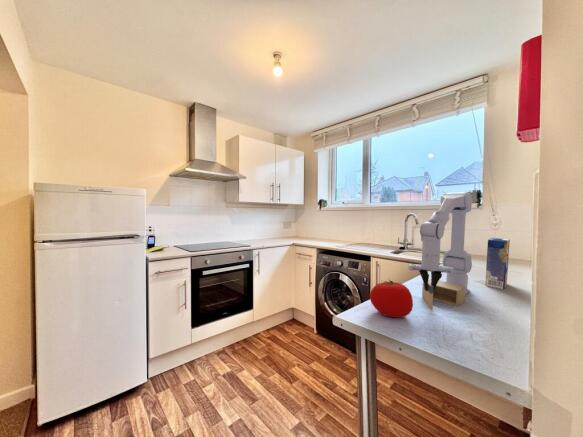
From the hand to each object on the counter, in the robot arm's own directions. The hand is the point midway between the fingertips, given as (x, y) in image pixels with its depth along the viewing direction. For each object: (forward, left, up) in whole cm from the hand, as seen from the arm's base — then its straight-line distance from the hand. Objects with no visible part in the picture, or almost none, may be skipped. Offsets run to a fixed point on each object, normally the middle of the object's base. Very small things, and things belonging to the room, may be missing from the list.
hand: (429, 290), depth 90 cm
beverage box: (-53, +9, -7) cm, 55 cm away
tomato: (+17, -6, -7) cm, 19 cm away
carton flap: (-4, -2, -6) cm, 7 cm away
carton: (-13, 0, -6) cm, 15 cm away
